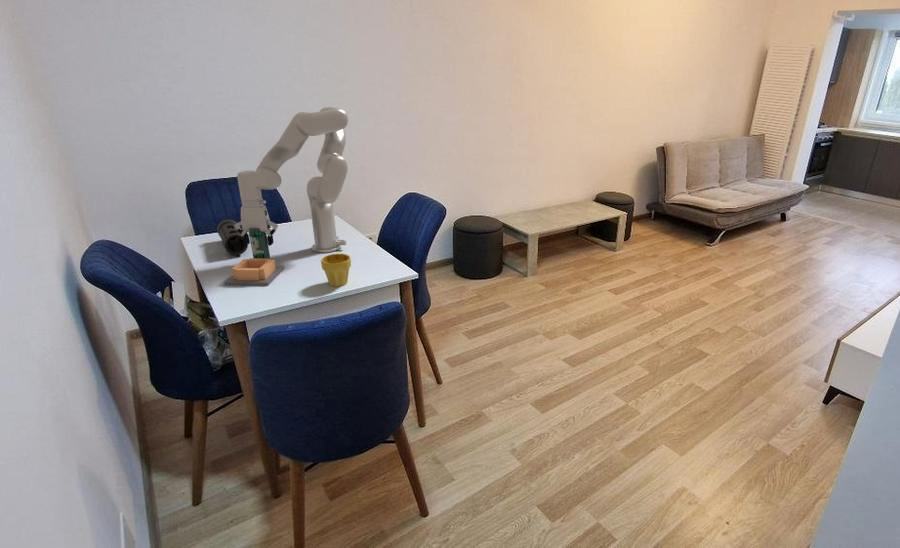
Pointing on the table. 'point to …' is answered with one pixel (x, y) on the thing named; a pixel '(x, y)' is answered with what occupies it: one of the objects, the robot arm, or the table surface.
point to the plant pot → (336, 268)
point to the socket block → (254, 272)
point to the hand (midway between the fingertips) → (259, 244)
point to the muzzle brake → (231, 237)
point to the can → (259, 244)
